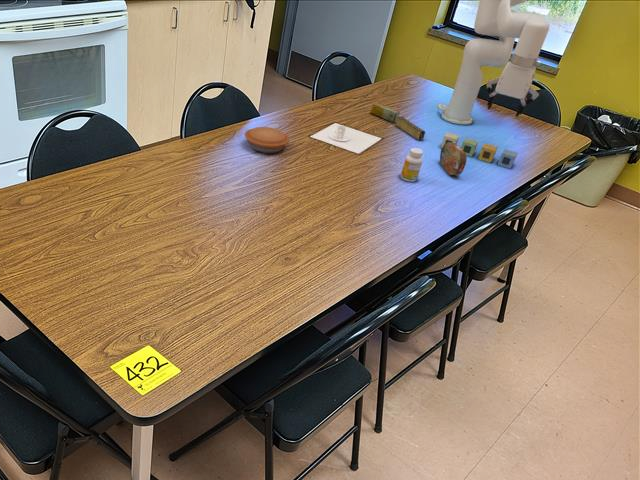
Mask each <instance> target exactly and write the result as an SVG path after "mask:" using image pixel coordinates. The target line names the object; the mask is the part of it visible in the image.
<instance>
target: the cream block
mask: <svg viewBox="0 0 640 480" xmlns="http://www.w3.org/2000/svg"><path fill="white" fill-rule="evenodd" d="M459 140H460V135H458V134H454V133H451V132H446V133H445V134H444V136H443V139H442V142H441V144H440V149H442V148H443V146H444V145H445V143H447V142H451V143H456V144H457V145H458V143H459Z"/></svg>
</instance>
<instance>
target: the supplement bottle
mask: <svg viewBox="0 0 640 480" xmlns="http://www.w3.org/2000/svg"><path fill="white" fill-rule="evenodd" d="M423 153H424V151H423V149H421V148H416V147H413V148H410V150H409V154H407V155H406V156H405V159H404V162H403V166H402V169H401V173H400V178H401V179H402V180H404V181H405V182H411V183H412V182H416V181H417V180H418V177H419V174H420V170H421V168H422V164H423Z"/></svg>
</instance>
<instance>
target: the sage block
mask: <svg viewBox="0 0 640 480" xmlns="http://www.w3.org/2000/svg"><path fill="white" fill-rule="evenodd" d="M478 144H479V140H475V139H472V138H468V137H465V139H463V141H462V143H461V146H460V148H461V149H462V150H463V151H464V152H465V154H466V157H470V158H472V157H473V155H474V154H475V152H476V150H477V147H478Z"/></svg>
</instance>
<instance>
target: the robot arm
mask: <svg viewBox="0 0 640 480" xmlns="http://www.w3.org/2000/svg"><path fill="white" fill-rule="evenodd" d="M478 2H479V3H478V7H477V10H476V14H475V20H474V25H473V26H474V27H473V29H474V32H475V33H476V34H478V35H483V36H490V37H499V40H498V39H497V40H496V39H490V38H480V37H479V38H478V37H477V38H472V39H470V40H469V41H467V43H465V45H464V49H463V53H462V54H463V55H462V61H461V65H460V69H459V73H458V75H457V79H456V82H455V85H454V87H453V91H452V93H451V97H450V101H449V103H448V104H446V105H444V104H442V103H438V104H437V107H436V108H437V109H438V111H441V112H442V113H441V118H442V119H443V120H444V121H446V122H448V123H452V124H455V125H464V126H467V125H471V124H472V123H473V120H474V119H473V118H472V116H471V115H472V112H473V109H474V106H475V103H476V100H477V98H478V94H479V92H480V89H481V87H482V86H481V85H482V83H483V80H484V74H483V71H482V70H481V67H490V68H503V67H504V68H503V70H502V72H501V75H500V77H499V78H495V79H489V80H487V81H486V85H485V86H486V91H487V93H488V95H489V98H488V100H487V104H486V106H487V110H490V109H491V108H492V107H493V104H494V101H495V99H496V95H498V94H499V95H503V96H506V97H511V98H514V99H518V100H519V101H520V104H519V106H518V109H517V111H516V112H515V113H516V114H515V117H516V118H518V117H519V116H520V115H522V114H523V111H524V109H525V107H526V106H527V105H529V104H531V103H533V101H535V100H536V99H537V98H538V97H539V96H540V94H539V93H538V92H537V91H536V90H535V89H534V87H532V84H533V80H534V78H535V74H536V69H537V68H536V66H541V63H542V61H541V60H539V59H538V58H539V55H540V53H541V51H542V48H543V45H544V43H545V41H546V38H547V36H548V34H549V32H550V27H551V26H550V23H549V22H548V21H546V20H545V18H544V17H543V16H542V15H540V14H535V13H526V12H518V11H516V10H515V9H512V7H514V6H518V5H520V4H523V3H526V2H528V0H479V1H478ZM516 39H518V40H517V43H516V46H515V48H514V45H515V42H516ZM513 49H514V51H513ZM512 52H513V54H512ZM495 84H496V86H495V88H494V89H493V87H492V85H495ZM528 94H530V95H532V96H531V97H530V98H527V95H528Z"/></svg>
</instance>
